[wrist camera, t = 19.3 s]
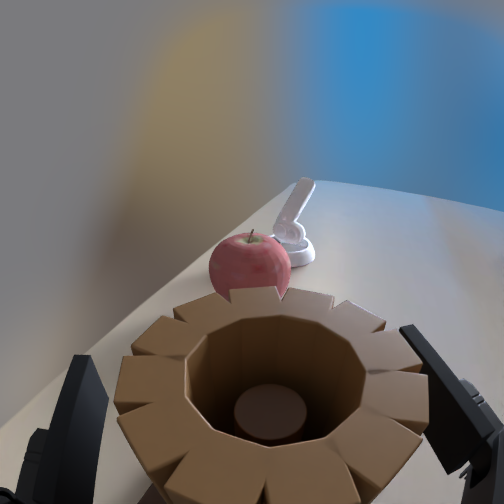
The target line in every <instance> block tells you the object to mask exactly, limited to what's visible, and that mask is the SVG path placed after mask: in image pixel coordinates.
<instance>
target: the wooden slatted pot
mask: <svg viewBox="0 0 504 504" xmlns="http://www.w3.org/2000/svg"><path fill="white" fill-rule="evenodd" d="M228 297H229V302H228V301H227V300H225V299H224V298H223V297H222V296H220V295H219V294H218V293H216V292H215V293H212V294H210V295H207V296H204V297H202V298H199V299H196V300H194V301H191V302H188V303H186V304H183V305H180V306H178V307H175V308H173V312H174V319H173V318H170V317H166V316H161V317H160V318H159V319H158V320H157V321H156V322H154V323H153V324H152V325H151V326H150V327H149V328H148V329H147V330H146V331H145V332H144V333H143V334H142V335H141V336H140V337H139V338H138V339H137V340H135V341H134V342H133V343H132V344H131V350H132V353H133V356H123V359H122V363H121V368H120V372H119V377H118V382H117V386H116V391H115V396H114V401H113V402H114V405H115V407H116V409H117V411H118V413H119V415H120V416H118V417H117V423H118V424H119V426H120V428H121V430H122V432H123V434H124V436H125V438H126V439H127V441H128V443H129V445H130V447H131V448H132V450H133V452H134V454H135V455H136V457H137V459H138V460H139V462H140V464H141V465H142V467H143V469H144V470H145V472H146V473H147V475H148V477H149V478H150V480H151V481H152V483H153V484H154V486H155V487H156V489H157V490H158V492H159V493H160V495H161V496H162V497H163V499H164V500H165V502H166V503H167V504H370V503H371V502H372V501H373V500H374V499H375V498H376V497H377V496H378V495H379V494H380V493H381V491H382V490H383V489H384V488H385V487H386V486H387V485H388V484H389V482H390V481H391V480H392V479H393V478H394V477H395V476H396V474H397V473H398V472H399V471H400V470H401V468H402V467H403V466H404V465H405V463H406V462H407V461H408V460H409V458H410V457H411V456H412V455H413V453H414V452H415V451H416V449H417V448H418V447H419V445H420V444H421V443H422V441H423V438H422V437H420V436H421V435H422V433H423V432H424V430H425V429H426V427H427V426H428V424H429V394H428V376H427V375H423V374H419V372H420V369H421V367H422V365H423V363H422V361H421V360H420V359H419V357H418V356H417V355H416V353H415V352H414V351H413V349H412V348H411V347H410V345H409V344H408V343H407V341H406V340H405V339H404V338H403V336H402V335H401V334H400V332H399V331H398V330H397V329H391V330H386V331H384V328H385V325H386V320H384V319H382V318H380V317H378V316H376V315H375V314H373V313H371V312H369V311H367V310H365V309H363V308H361V307H359V306H358V305H356V304H354V303H352V302H350V301H348V300H346V301H344V302H342V303H341V304H339V305H337V306H336V307H334V308H333V304H334V296H333V295H327V294H322V293H316V292H311V291H306V290H301V289H295V288H288V290H287V291H286V293H285V295H284V297H283V298H282V300H281V298H280V296H279V293H278V291H277V288H276V286H270V287H257V288H243V289H229V290H228ZM263 384H277V385H282V386H285V387H288V388H290V389H292V390H294V391H295V392H297V393H298V394H299V395H300V396H301V397H302V398H303V400H304V402H305V404H306V406H307V419H306V423H305V428H304V432H303V436H302V440H301V442H300V443H294V444H288V445H282V446H275V447H266V446H263V445H260V444H256V443H253V442H250V441H247V440H244V439H241V438H238V437H235V427H234V406H235V403H236V401H237V399H238V398H239V397H240V395H241V394H242V393H244V392H245V391H246V390H248V389H250V388H252V387H255V386H258V385H263Z"/></svg>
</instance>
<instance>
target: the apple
mask: <svg viewBox="0 0 504 504" xmlns="http://www.w3.org/2000/svg"><path fill="white" fill-rule="evenodd" d="M253 231H254V229H252V231H251V233H243V234H238V235H235V236H232V237H229V238H227V239H225V240H223V241H222V242H221V243H220V244H219V245H218V246H217V247H216V248H215V249H214V251H213V253H212V255H211V258H210V261H209V273H210V278H211V282H212V285H213V287H214V289H215V291H216V293H218V294H219V295H220V296H222V297H223V298H224V299H225V300H227V301H228V302H229V297H228V290H229V289H243V288H257V287H270V286H276V288H277V291H278V293H279V296H280V298H281V297H282V296H283V294H284V293H285V291H286V289H287V286H288V283H289V280H290V275H291V262H290V259H289V256H288V254H287V253H286V251H285V249H284V248H283V247H282V245H281V244H280V243H278V242H277V241H276V240H275V239H273V238H271V237H269V236H267V235H264V234H259V233H253Z"/></svg>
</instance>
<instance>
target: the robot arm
mask: <svg viewBox="0 0 504 504" xmlns="http://www.w3.org/2000/svg"><path fill="white" fill-rule="evenodd" d="M399 332H400V334H401V335H402V336H403V338H404V339H405V340H406V341H407V343H408V344H409V345H410V347H411V348H412V349H413V351H414V352H415V353H416V355H417V356H418V357H419V359H420V360H421V361H422V363H423V365H422V367H421V369H420V372H419V374H423V375H427V376H428V394H429V424H428V426H427V427H426V429H425V430H424V432H423V433H424V435H425V437H426V438H427V440H428V442H429V443H430V445H431V447H432V449H433V450H434V452H435V454H436V455H437V457H438V459H439V461H440V462H441V464H442V466H443V468H444V470H445V471H446V473H447V475H449V474H451V473H452V472H454V471H456V470H458V469H460V468H461V467H462V466H463V465H464V464H465V463H466V462H467V461H468V460H469V462H470V465H469V466H468V467H467V468H466V469H465V470H464V471H463V472H462V473H461V474H460V477H459V478H462V477H463V476H464V475H465V474H466V473H467V475H466V477H465V478H464V479H466V482H465V487H464V492H463V497H462V501H461V504H504V425H503V424H502V422H501V421H500V420H499V418H498V417H497V416H496V414H495V413H494V412H493V410H492V409H491V408H490V406H489V405H488V404H487V402H486V401H484V398H483V397H482V396H481V395H479V392H478V391H477V389H476V388H475V387H474V386H473V384H471V383H470V382H468V381H467V380H465V379H464V378H463V379H461V380H458V378H457V377H456V376H455V375H454V373H453V372H452V371H451V370H450V368H449V367H448V366H447V365H446V363H445V362H444V361H443V360H442V358H441V357H440V356H439V355H438V353H437V352H436V351H435V350H434V349H433V347H432V346H431V345H430V344H429V342H428V341H427V340H426V339H425V338H424V336H423V335H422V334H421V333H420V332H419V331H418V329H417V328H416V327H415V326H414V325H413V324H412V325H408V326H403V327H400V329H399ZM108 402H109V397H108V395H107V393H106V391H105V388H104V386H103V384H102V382H101V379H100V377H99V375H98V372H97V370H96V368H95V365H94V363H93V360H92V358H91V355H74V356H73V359H72V362H71V364H70V367H69V370H68V372H67V375H66V378H65V381H64V384H63V386H62V389H61V392H60V395H59V398H58V401H57V404H56V407H55V411H54V414H53V417H52V420H51V423H50V427H49V430H46V429H40V428H37V430H36V431H35V432H34V433H33V435H32V436H31V437H30V439H29V443H28V446H27V452H26V453H25V457H24V461H23V464H22V468H21V471H20V475H19V479H18V483H17V488H16V492H15V494H14V493H13V492H12V491H10V490H9V489H7V488H3V487H0V504H93V497H94V488H95V480H96V472H97V465H98V458H99V451H100V445H101V439H102V433H103V428H104V422H105V417H106V412H107V407H108Z"/></svg>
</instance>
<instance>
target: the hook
mask: <svg viewBox="0 0 504 504" xmlns="http://www.w3.org/2000/svg"><path fill="white" fill-rule="evenodd" d="M314 188H315V182H314V181H313V180H311V179H309V178H306V177H302V178H301V179H300V180H299V182H298V183H297V185H296V187H295V188H294V190H293V192H292V193H291V195H290V197H289V198H288V200H287V202H286V203H285V205H284V207H283V209H282V210H281V212H280V214H279V216H278V218H277V220H276V223H275V225H274V227H273V233H274V235H271V236H269V237H271V238H273V239H275V240H276V241H277V242H278V243H289V244H296V245H300V246H303V247H305V248H306V249H304V250H301V251H297V252H286V253H287V254H288V256H289V259H290V262H291V267H299V266H303V265H306V264H309V263H310V262H312V261H313V260H314V258H315V252H314V249H313V247H312V245H311V243H310V241H309V240H308V239H306V238H304V237H305V229H304V227H303V226H302V225H300V224H299V223H297V222H296V220H297V218H298V217H299V215H300V213H301V211H302V210H303V208H304V206H305V204H306V203H307V201H308V199H309V197H310V196H311V194H312V192H313V190H314Z"/></svg>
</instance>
